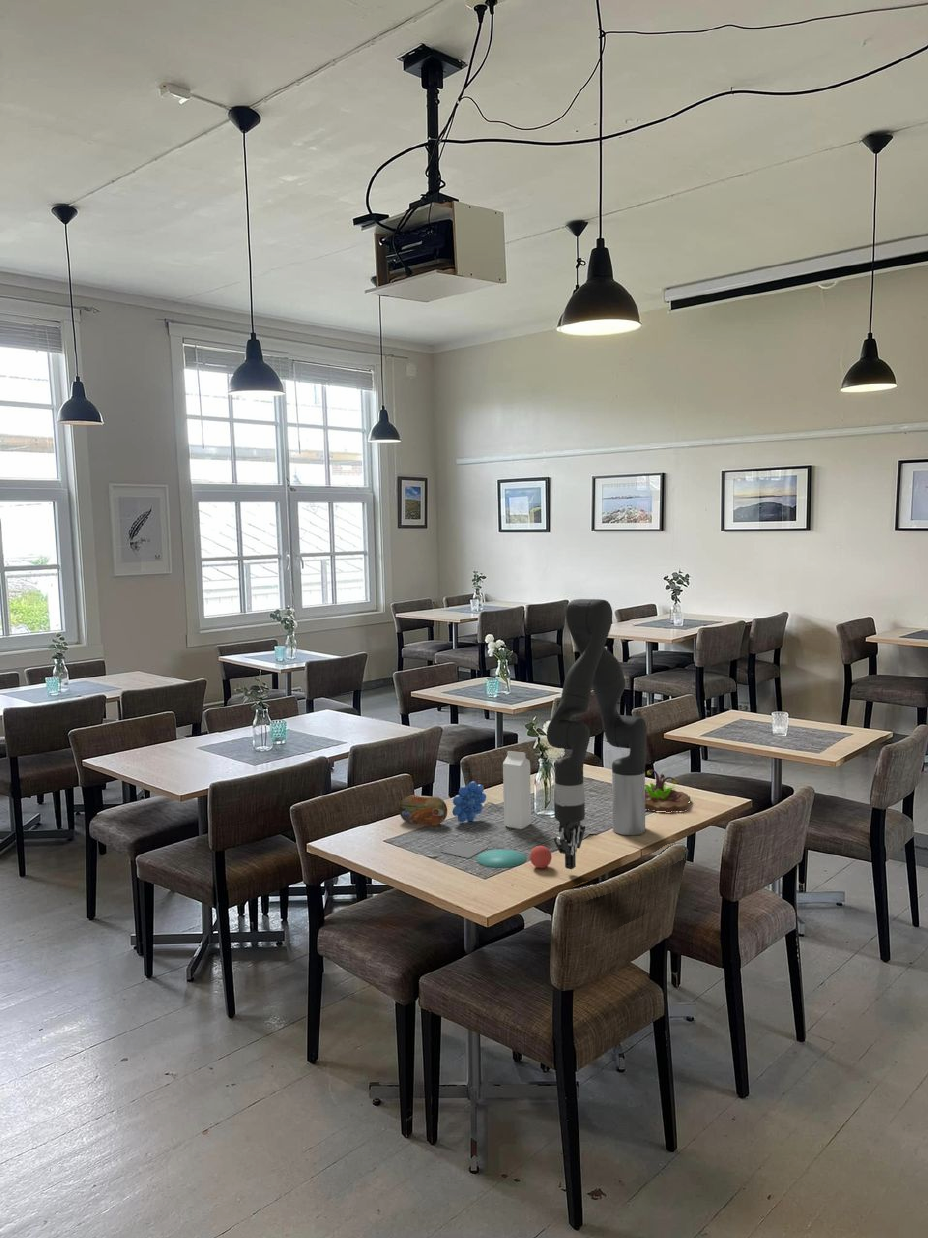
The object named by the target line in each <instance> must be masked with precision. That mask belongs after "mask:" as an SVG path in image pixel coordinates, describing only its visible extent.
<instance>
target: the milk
mask: <svg viewBox="0 0 928 1238" xmlns="http://www.w3.org/2000/svg"><path fill="white" fill-rule="evenodd" d="M506 754H507V756H506V757H505V759H504V760H503V762H502V777H503V778H502V782H503V783H502V784H503V786H502V787H503V790H502V791H503V826H504V827H506V826H507V828H513V829H519V830H523V829H524V828H527V827H528V826H530V825H531V824H532V801H531V800H532V796H531V795H532V791H531V789H532V787H531V761H530V760H529V759H528V758H527V757H526V753H525V752H522V751H512V750H508V751H507V753H506Z"/></svg>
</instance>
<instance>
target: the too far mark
mask: <svg viewBox="0 0 928 1238" xmlns="http://www.w3.org/2000/svg"><path fill="white" fill-rule="evenodd" d="M487 849H488V847H486V846H481V845H476V844H470V843H468V842H467V843H466V842H462V841H460V842H458V843H456V844H454V845H451V846H450V847H447V848H446V849H444V850H442V851H441V852H440V853H442V854H447V855H451V856H455V855H456V857H459V856H461V857H460V858H464V857H465V858H464V859H468V858H469V859H470V858H472V857H474V856H476V855H479V854H481V853H483V851H484V852H485V851H486V850H487Z"/></svg>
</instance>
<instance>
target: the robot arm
mask: <svg viewBox="0 0 928 1238" xmlns="http://www.w3.org/2000/svg"><path fill="white" fill-rule="evenodd" d="M565 621H566V625H567V628H568V630H569V633H570V635H571V637H572V639H573V642H574V644H575V645H576V648H577V650H578V652H579V654H580V656H579V658H577V659H576V661H575V662H574V663H573V664H572V666H571V667H570V669H568V672H567V673H566V675H565V679H564V682H563V684H562V690H561V697H560V701H559V703H558V705H557V708H556V709H555V712H554V714H553V716H552V717H551V720H550V721H549V724H548V726H547V729H546V739H547V742H548V745H549V746H551V747H552V748H555V749H563V750H571V754H570V756H564V757H559V758H557V759H556V760H555V763H554V787H553V788H554V789H553V796H554V797H553V803H554V804H553V808H554V812H553V813H554V814H553V815H554V818H555V820H556V821H557V822H558V823H559V826H558V836H555V837H554V839H553V842H554V844H555V847H556V848H557V850H558V852H559V853H560V854H563V855H564V867H565V868H566V869H567V870H574V869H575V868H576V866H577V864H576V863H577V862H576V858H577V857H576V856H577V855H576V854H577V852H578V849H581V845H582V842H583V841H582V840H583V838H584V834H585V831H586V826H585V825H582V824H581V822H582V821H583V820H585V817H586V812H585V809H586V806H585V804H586V802H585V800H586V799H585V787H584V765H585V764H584V763H585V758H586V754H587V750H588V748H589V743H590V739H591V732H590V728H589V726H588V725H587V724H586V723H585V722H582V721H576V720H575V721H574V720H570V719H571V718H572V717H574V716H576V715H582V714H584V713H586V712H587V711H588V709H589V703H590V700H591V693H592V691H593V694H594V697H595V699H596V702H597V705H598V709H599V712H600V717H601V721H602V722H601V723H602V727H603V731H604V735H605V738H606V741H607V742H608V744H609V745H610V746H612V747H616V748H622V749H629V754H628V755H627V756H624V757H621V758H617V759H614V760H613V761H612V763H611V785H612V789H611V791H612V792H611V793H612V794H611V795H612V796H611V797H612V801H611V802H612V831H613V832H614V833H616V834H620V835H622V836H623V835H624V836H637V835H638V836H639V835H642V834H644V833H645V832H646V811H645V784H646V762H647V761H646V759H647V737H648V736H647V735H648V729H647V728H648V727H647V723H646V721H645V719H644V718H643V717H642V716H633V715H626V714H625V715H623V714H620V713H619V712H618V709H617V705H618V703H619V701H620V699H621V697H622V695H623V693H624V691H625V688H626V680H625V675H624V672H623V669H622V666H621V664H620V662H619V660H618V659H617V658H616V656H615V655H614V654H613V653H612V652H611V651H610V650H608V649H607V648H606V647H605V646H606V643H607V640H608V637H609V634H610V631H611V627H612V623H613V610H612V605H611V604H610V602H609V601H608V600H605V599H599V598H598V599H596V598H592V599H591V598H585V599H584V598H580V599H579V598H578V599H577V598H576V599H572V600H570V601H569V602H568V604H567V605H566V608H565Z"/></svg>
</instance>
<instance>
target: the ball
mask: <svg viewBox="0 0 928 1238" xmlns="http://www.w3.org/2000/svg"><path fill="white" fill-rule="evenodd" d="M529 859H530V862H531V864H532V865H533V866H534V867H536V868H538V869H545V868H547V867H548V866H549V865H550V864H551V862H552V853H551V851H550V849H549V848H548V847H546V846H544V845H537V846H535V847H533V848H532V849H531V851H530V854H529Z"/></svg>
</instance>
